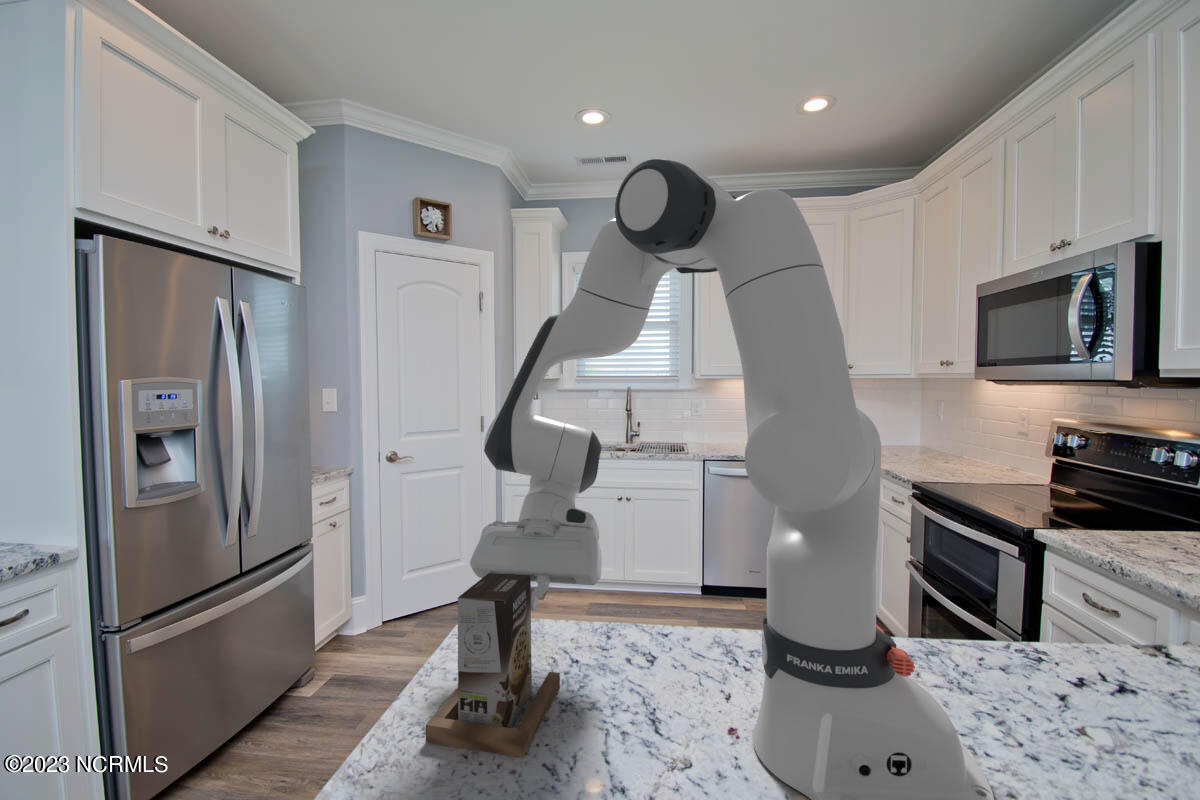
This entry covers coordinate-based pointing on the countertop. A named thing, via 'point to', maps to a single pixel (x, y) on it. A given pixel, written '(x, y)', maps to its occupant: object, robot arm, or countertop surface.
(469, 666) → the coffee box
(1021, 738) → the countertop surface
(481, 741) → the walnut bay
